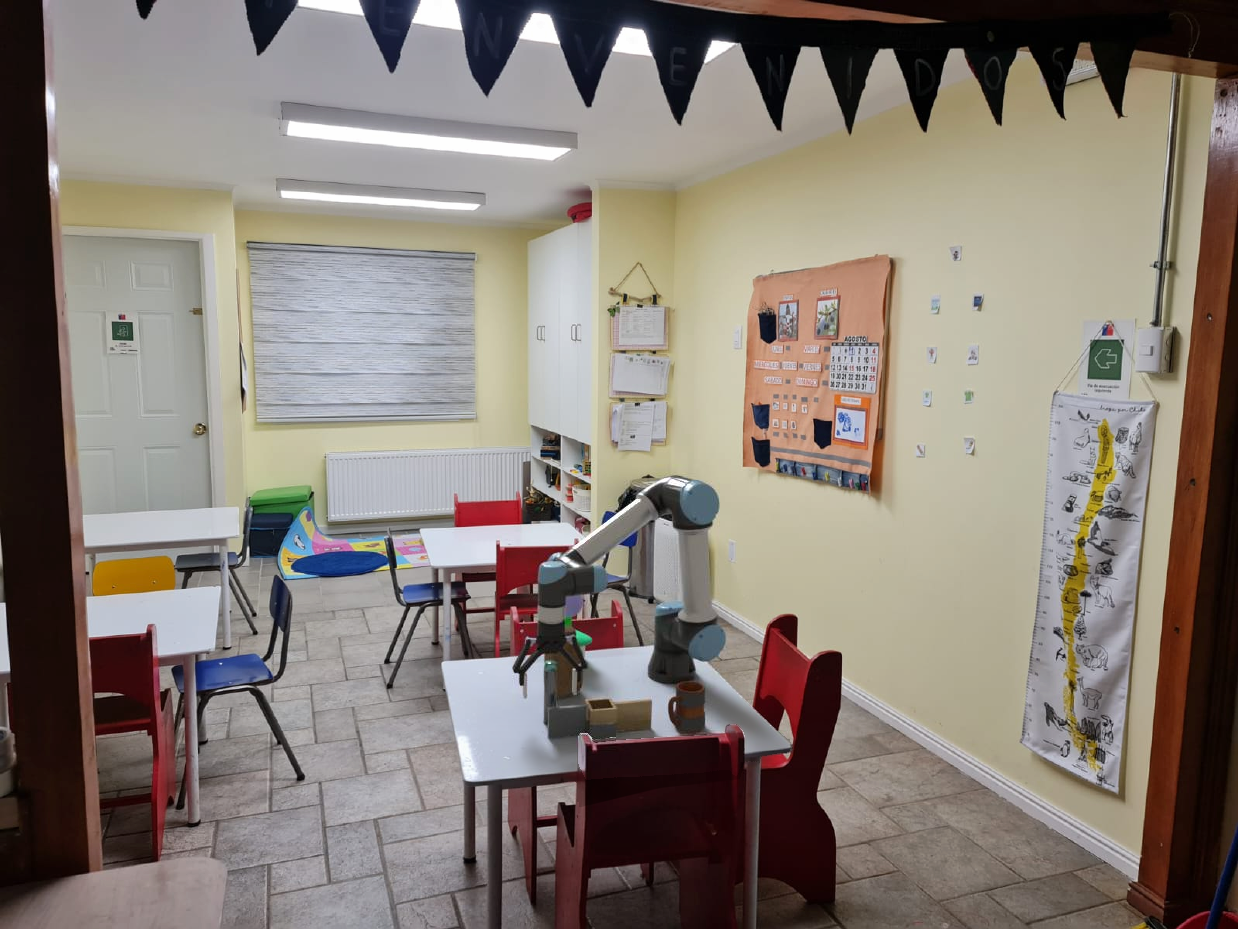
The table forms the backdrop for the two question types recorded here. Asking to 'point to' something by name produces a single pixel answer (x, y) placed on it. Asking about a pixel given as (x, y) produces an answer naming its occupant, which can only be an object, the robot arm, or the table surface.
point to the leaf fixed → (576, 723)
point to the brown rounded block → (565, 667)
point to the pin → (549, 687)
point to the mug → (688, 707)
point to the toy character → (571, 610)
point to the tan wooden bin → (620, 713)
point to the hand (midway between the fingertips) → (549, 695)
